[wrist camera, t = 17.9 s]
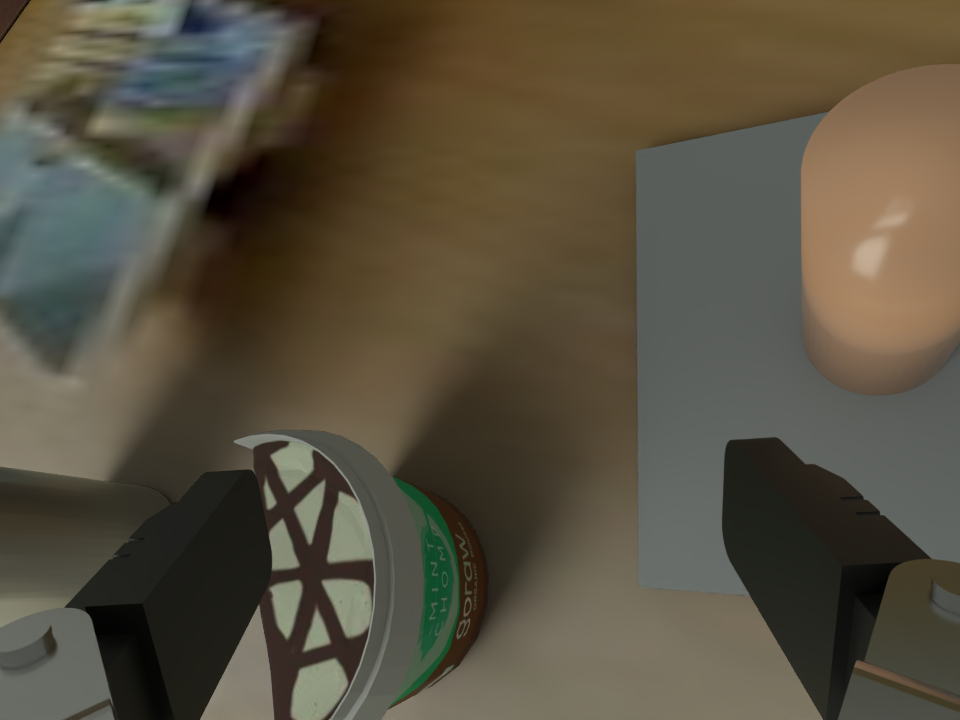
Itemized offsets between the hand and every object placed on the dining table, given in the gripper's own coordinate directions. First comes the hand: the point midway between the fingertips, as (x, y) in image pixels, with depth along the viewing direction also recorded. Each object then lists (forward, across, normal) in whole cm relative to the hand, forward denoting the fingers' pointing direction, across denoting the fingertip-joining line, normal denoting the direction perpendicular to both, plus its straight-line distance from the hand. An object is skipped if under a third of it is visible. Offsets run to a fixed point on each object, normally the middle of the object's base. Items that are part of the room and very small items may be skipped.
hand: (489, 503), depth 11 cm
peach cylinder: (+14, -15, +2) cm, 21 cm away
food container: (+16, +3, +13) cm, 21 cm away
